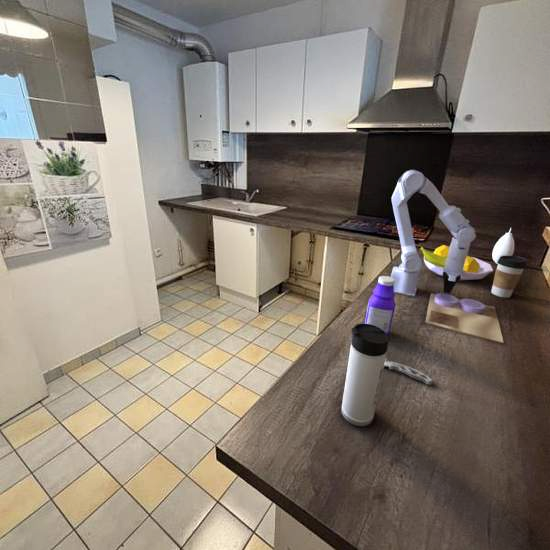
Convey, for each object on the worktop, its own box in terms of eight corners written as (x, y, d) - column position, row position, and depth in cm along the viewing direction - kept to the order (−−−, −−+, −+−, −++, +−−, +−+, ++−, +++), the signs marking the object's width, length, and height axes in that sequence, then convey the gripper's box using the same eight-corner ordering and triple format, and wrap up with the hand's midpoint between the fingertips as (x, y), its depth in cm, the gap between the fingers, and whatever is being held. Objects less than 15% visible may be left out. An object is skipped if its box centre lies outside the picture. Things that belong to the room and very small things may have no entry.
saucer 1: (433, 304, 102) (434, 299, 101) (434, 296, 107) (435, 291, 107) (457, 309, 98) (458, 304, 98) (457, 300, 104) (458, 296, 103)
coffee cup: (518, 301, 106) (534, 262, 100) (493, 298, 107) (506, 260, 102) (506, 291, 114) (520, 255, 108) (483, 289, 115) (495, 253, 109)
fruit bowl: (483, 269, 135) (491, 246, 130) (492, 292, 112) (501, 265, 108) (417, 259, 146) (422, 237, 142) (413, 277, 124) (419, 252, 120)
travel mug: (335, 402, 61) (347, 320, 54) (366, 400, 62) (381, 320, 54) (344, 428, 56) (358, 341, 48) (378, 426, 56) (397, 339, 48)
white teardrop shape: (509, 263, 142) (522, 227, 135) (507, 268, 137) (521, 230, 130) (490, 260, 147) (501, 224, 140) (487, 263, 142) (499, 227, 135)
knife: (355, 359, 74) (359, 353, 77) (431, 387, 66) (432, 379, 68) (356, 354, 74) (359, 348, 76) (433, 381, 65) (434, 373, 68)
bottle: (389, 329, 87) (400, 276, 80) (389, 340, 82) (401, 284, 75) (364, 324, 89) (372, 272, 82) (363, 335, 84) (372, 280, 77)
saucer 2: (459, 309, 98) (460, 304, 97) (458, 301, 104) (460, 296, 103) (484, 315, 95) (486, 310, 94) (482, 306, 101) (484, 301, 100)
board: (424, 323, 91) (425, 322, 90) (430, 294, 110) (430, 293, 110) (503, 344, 81) (503, 342, 81) (494, 308, 101) (494, 307, 100)
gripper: (470, 266, 95) (459, 302, 100) (468, 254, 107) (459, 287, 112) (446, 262, 98) (436, 297, 103) (447, 250, 110) (438, 283, 115)
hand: (446, 292), depth 108 cm, fingers closed
